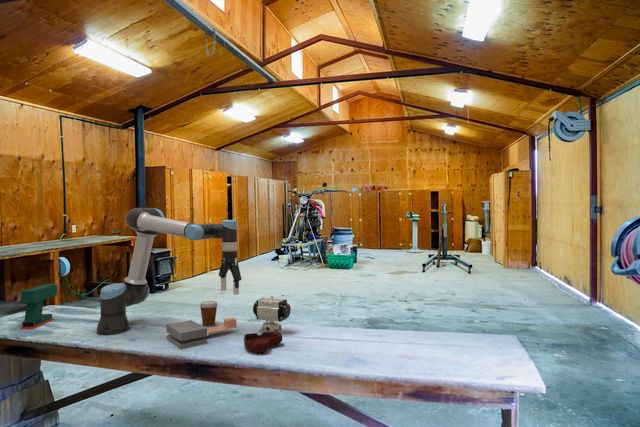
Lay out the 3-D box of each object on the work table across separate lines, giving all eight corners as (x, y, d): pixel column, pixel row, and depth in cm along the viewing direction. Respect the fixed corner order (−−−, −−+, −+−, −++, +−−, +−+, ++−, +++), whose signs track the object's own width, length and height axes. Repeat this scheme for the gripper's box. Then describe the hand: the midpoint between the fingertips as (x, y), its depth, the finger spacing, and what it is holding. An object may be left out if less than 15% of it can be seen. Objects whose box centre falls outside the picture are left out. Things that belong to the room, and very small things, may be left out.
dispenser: (181, 349, 175) (180, 333, 175) (166, 339, 190) (166, 324, 190) (209, 342, 183) (208, 327, 183) (192, 333, 198) (192, 319, 198)
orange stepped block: (204, 334, 188) (204, 326, 188) (198, 331, 194) (198, 323, 194) (237, 327, 200) (237, 319, 200) (231, 324, 205) (231, 317, 205)
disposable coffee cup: (212, 327, 209) (212, 304, 209) (196, 326, 211) (196, 304, 211) (221, 322, 218) (220, 301, 218) (205, 322, 220) (204, 300, 220)
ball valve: (251, 332, 199) (251, 297, 199) (260, 328, 207) (260, 294, 207) (283, 336, 192) (282, 299, 192) (291, 331, 200) (290, 296, 200)
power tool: (53, 314, 240) (53, 281, 240) (65, 314, 241) (65, 281, 241) (19, 329, 209) (19, 291, 209) (34, 329, 209) (33, 291, 210)
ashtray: (256, 339, 189) (256, 329, 189) (285, 344, 181) (285, 333, 181) (231, 351, 173) (231, 339, 173) (262, 356, 165) (262, 344, 165)
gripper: (212, 249, 208) (212, 289, 208) (234, 252, 189) (234, 297, 189) (225, 248, 213) (225, 288, 213) (248, 251, 194) (248, 295, 194)
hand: (229, 292), depth 201 cm, fingers open, 13 cm apart
